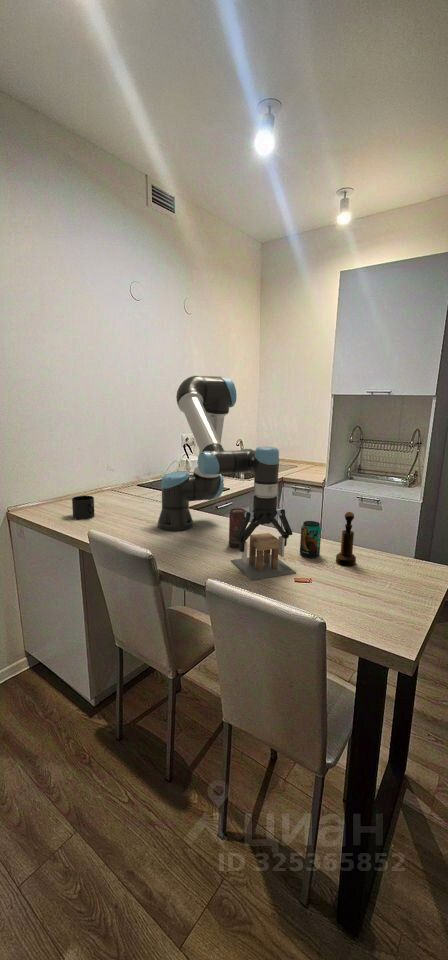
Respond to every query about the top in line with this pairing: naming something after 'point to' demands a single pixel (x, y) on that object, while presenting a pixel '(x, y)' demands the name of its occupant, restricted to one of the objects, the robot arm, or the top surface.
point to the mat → (267, 570)
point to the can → (234, 525)
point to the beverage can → (310, 539)
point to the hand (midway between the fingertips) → (262, 558)
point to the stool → (264, 543)
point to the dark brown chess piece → (347, 544)
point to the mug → (83, 507)
